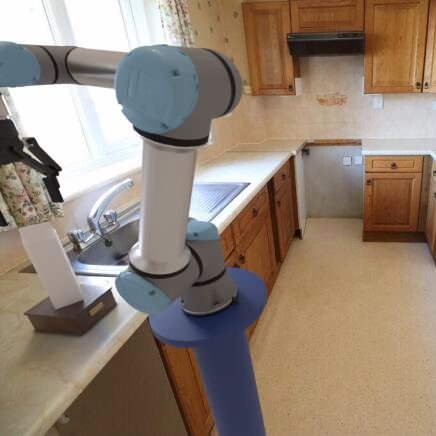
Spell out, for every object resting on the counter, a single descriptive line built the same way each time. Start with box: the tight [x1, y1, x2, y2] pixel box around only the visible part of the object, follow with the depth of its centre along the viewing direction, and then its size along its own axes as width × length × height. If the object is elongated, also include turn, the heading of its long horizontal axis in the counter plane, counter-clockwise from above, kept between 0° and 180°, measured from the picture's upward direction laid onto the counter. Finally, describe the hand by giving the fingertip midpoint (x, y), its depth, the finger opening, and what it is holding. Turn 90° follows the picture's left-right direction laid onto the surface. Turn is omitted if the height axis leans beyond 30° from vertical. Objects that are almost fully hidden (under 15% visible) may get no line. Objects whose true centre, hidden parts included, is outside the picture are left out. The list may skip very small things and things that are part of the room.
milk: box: [18, 221, 84, 310], centre depth 81 cm, size 6×6×22 cm
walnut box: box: [23, 283, 118, 337], centre depth 87 cm, size 15×13×6 cm
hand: (32, 213), depth 76 cm, fingers open, 13 cm apart
